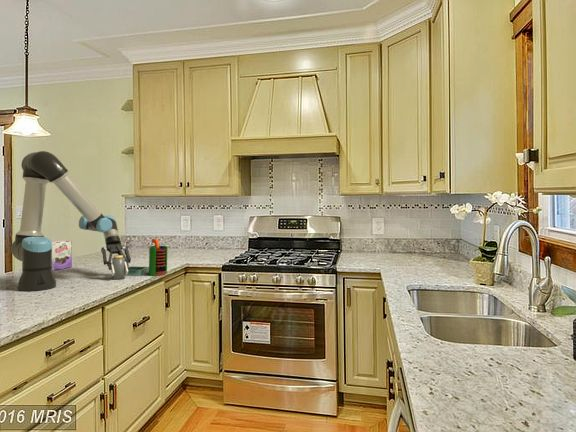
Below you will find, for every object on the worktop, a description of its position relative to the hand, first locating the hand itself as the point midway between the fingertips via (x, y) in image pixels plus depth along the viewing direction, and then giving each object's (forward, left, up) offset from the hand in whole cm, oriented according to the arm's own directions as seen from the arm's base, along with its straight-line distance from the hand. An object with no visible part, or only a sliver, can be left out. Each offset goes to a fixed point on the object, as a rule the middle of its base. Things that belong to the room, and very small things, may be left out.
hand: (120, 273), depth 200 cm
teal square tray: (+17, -1, -3) cm, 17 cm away
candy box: (+25, +49, -4) cm, 55 cm away
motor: (+17, -13, -4) cm, 22 cm away
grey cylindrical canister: (+3, +2, -3) cm, 5 cm away
